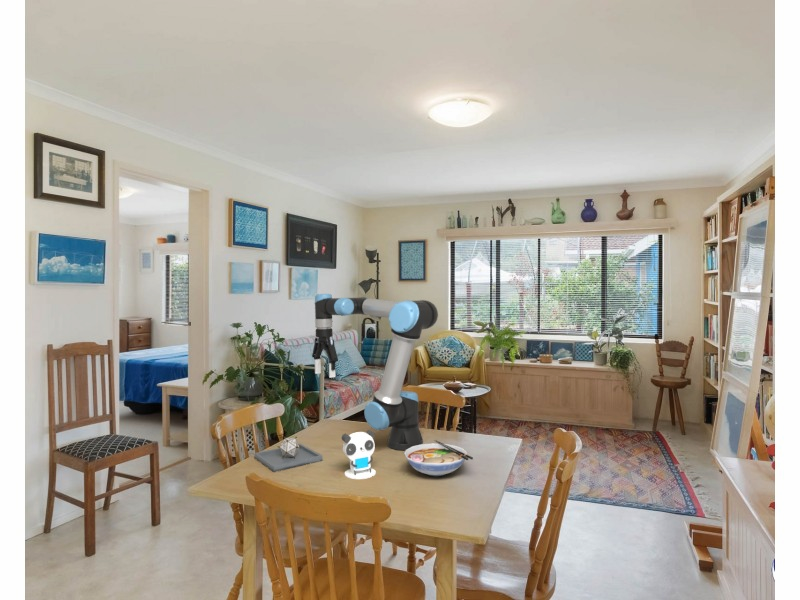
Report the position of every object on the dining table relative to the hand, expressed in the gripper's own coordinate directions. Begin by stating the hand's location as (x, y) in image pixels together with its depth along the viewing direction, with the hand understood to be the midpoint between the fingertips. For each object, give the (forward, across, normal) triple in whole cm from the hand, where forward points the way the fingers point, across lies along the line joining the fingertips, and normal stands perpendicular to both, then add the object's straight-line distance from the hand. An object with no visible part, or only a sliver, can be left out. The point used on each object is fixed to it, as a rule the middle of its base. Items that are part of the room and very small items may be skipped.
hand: (324, 375), depth 226 cm
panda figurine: (+29, -46, +11) cm, 55 cm away
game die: (+28, -15, +24) cm, 40 cm away
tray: (+29, -15, +25) cm, 41 cm away
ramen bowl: (+29, -63, -11) cm, 70 cm away
